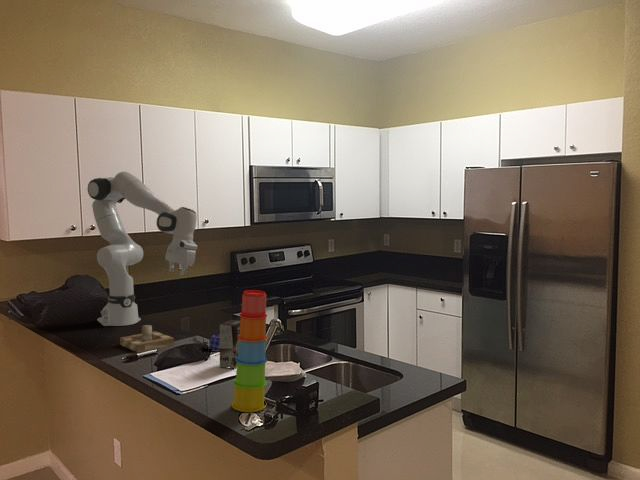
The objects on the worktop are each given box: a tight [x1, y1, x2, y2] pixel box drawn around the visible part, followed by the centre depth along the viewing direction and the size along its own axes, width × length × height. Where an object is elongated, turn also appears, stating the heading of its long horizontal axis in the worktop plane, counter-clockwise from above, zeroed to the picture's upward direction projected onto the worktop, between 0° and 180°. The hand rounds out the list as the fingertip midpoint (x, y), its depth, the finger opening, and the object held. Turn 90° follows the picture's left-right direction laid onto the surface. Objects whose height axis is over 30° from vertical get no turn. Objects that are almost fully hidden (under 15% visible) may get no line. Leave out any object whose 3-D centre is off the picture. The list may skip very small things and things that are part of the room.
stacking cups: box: [231, 289, 268, 413], centre depth 158 cm, size 10×10×35 cm
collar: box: [119, 330, 175, 354], centre depth 225 cm, size 16×16×3 cm
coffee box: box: [219, 319, 241, 369], centre depth 198 cm, size 9×6×16 cm
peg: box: [141, 324, 153, 342], centre depth 224 cm, size 4×4×8 cm
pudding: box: [207, 334, 220, 352], centre depth 221 cm, size 12×12×5 cm
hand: (176, 273), depth 243 cm, fingers open, 8 cm apart
